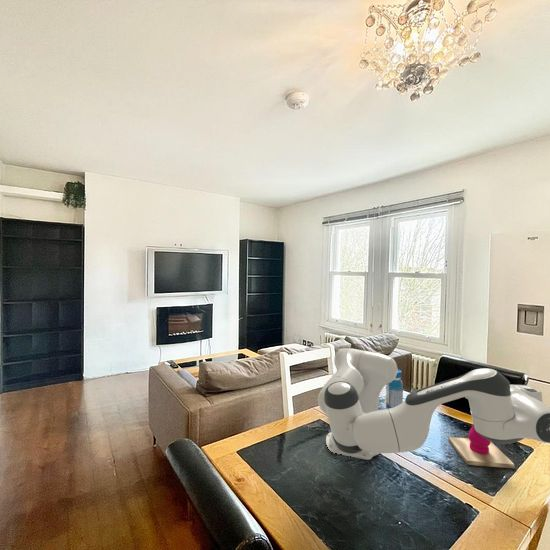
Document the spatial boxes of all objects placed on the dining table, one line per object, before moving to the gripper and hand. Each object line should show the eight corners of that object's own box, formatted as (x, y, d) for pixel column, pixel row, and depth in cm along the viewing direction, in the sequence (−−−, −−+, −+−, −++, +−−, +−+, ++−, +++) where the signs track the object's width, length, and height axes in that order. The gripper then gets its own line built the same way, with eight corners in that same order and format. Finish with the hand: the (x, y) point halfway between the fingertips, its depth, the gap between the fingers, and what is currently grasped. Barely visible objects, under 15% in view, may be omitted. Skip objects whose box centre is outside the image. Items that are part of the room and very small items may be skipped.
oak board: (467, 464, 112) (467, 460, 112) (448, 440, 128) (448, 437, 128) (514, 468, 110) (514, 464, 110) (489, 443, 125) (489, 439, 125)
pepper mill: (494, 456, 114) (494, 404, 114) (473, 454, 116) (473, 402, 115) (484, 445, 121) (485, 396, 121) (465, 443, 123) (465, 394, 122)
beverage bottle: (395, 413, 152) (395, 374, 151) (382, 407, 159) (382, 369, 159) (406, 410, 156) (406, 371, 155) (393, 403, 163) (393, 366, 163)
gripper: (470, 409, 89) (449, 390, 103) (547, 413, 86) (515, 394, 100) (470, 387, 89) (450, 372, 103) (547, 391, 86) (516, 375, 100)
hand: (483, 383), depth 101 cm, fingers open, 8 cm apart
